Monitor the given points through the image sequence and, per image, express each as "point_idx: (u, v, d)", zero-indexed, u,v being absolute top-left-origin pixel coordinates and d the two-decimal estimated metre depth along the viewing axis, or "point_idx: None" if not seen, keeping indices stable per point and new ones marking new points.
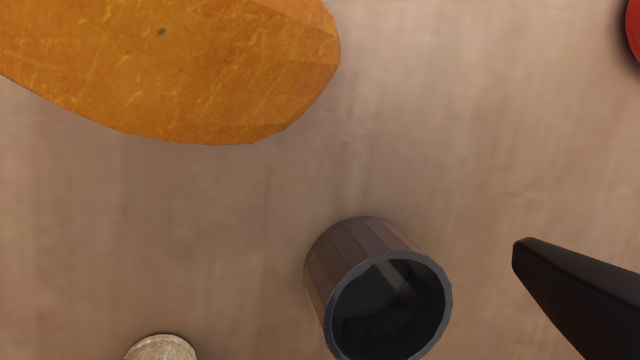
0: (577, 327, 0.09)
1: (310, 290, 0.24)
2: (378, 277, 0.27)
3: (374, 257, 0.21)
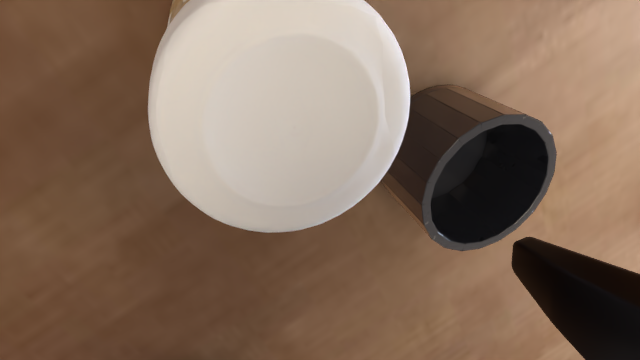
0: (577, 327, 0.09)
1: (429, 111, 0.20)
2: None
3: (542, 126, 0.19)
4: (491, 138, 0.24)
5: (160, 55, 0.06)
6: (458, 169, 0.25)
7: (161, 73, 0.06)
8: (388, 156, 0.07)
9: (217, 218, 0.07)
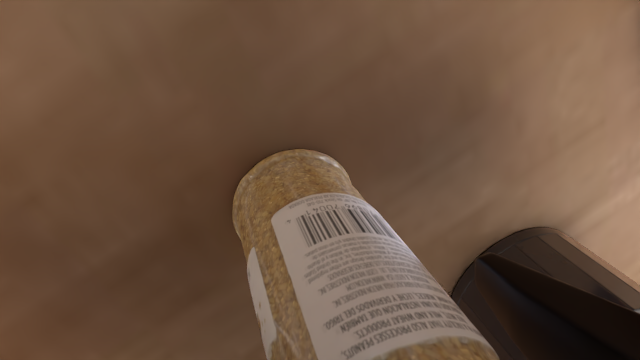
0: (534, 347, 0.08)
1: None
2: None
3: None
4: None
5: None
6: None
7: None
8: None
9: None
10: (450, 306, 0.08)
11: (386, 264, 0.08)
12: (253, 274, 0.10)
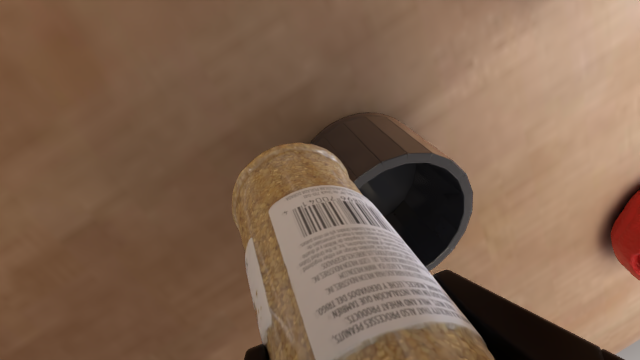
0: None
1: (341, 143, 0.19)
2: (367, 197, 0.24)
3: (453, 164, 0.18)
4: (419, 168, 0.23)
5: None
6: (387, 198, 0.24)
7: None
8: None
9: None
10: (440, 294, 0.08)
11: (378, 254, 0.08)
12: (250, 264, 0.10)
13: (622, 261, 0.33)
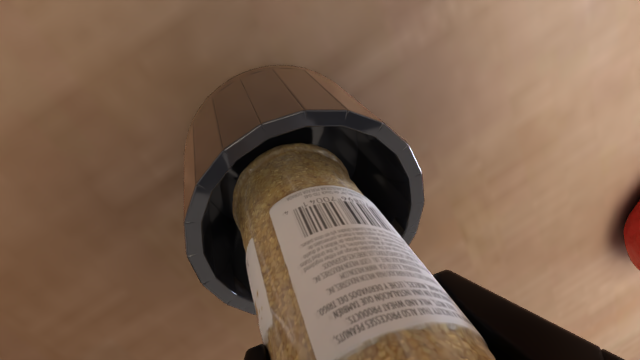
0: None
1: (225, 104, 0.13)
2: None
3: (386, 130, 0.12)
4: (361, 145, 0.17)
5: None
6: None
7: None
8: None
9: None
10: (441, 295, 0.08)
11: (379, 254, 0.08)
12: (251, 264, 0.10)
13: (638, 265, 0.26)
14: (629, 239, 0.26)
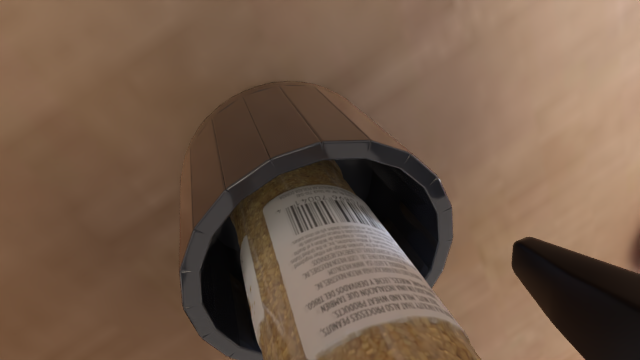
0: (577, 327, 0.09)
1: (227, 128, 0.11)
2: None
3: (414, 161, 0.10)
4: (376, 168, 0.15)
5: None
6: None
7: None
8: None
9: None
10: (424, 290, 0.08)
11: (366, 252, 0.09)
12: (245, 260, 0.11)
13: None
14: None
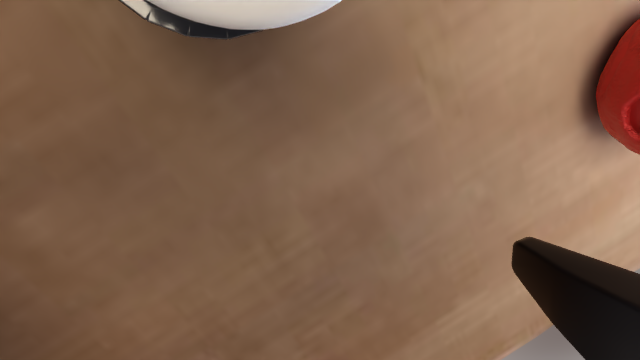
0: (577, 327, 0.09)
1: None
2: None
3: None
4: None
5: None
6: None
7: None
8: None
9: None
10: None
11: None
12: None
13: (611, 125, 0.24)
14: (601, 98, 0.25)
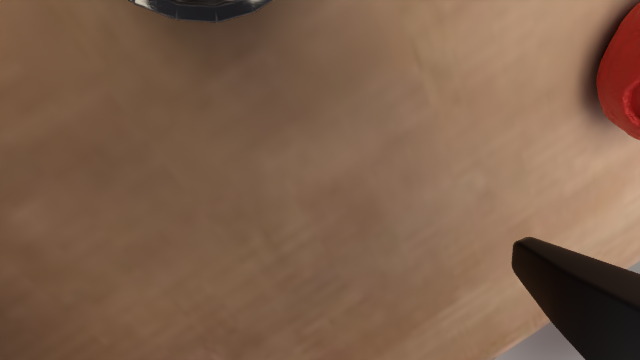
0: (577, 327, 0.09)
1: None
2: None
3: None
4: None
5: None
6: None
7: None
8: None
9: None
10: None
11: None
12: None
13: (612, 111, 0.24)
14: (602, 84, 0.24)
